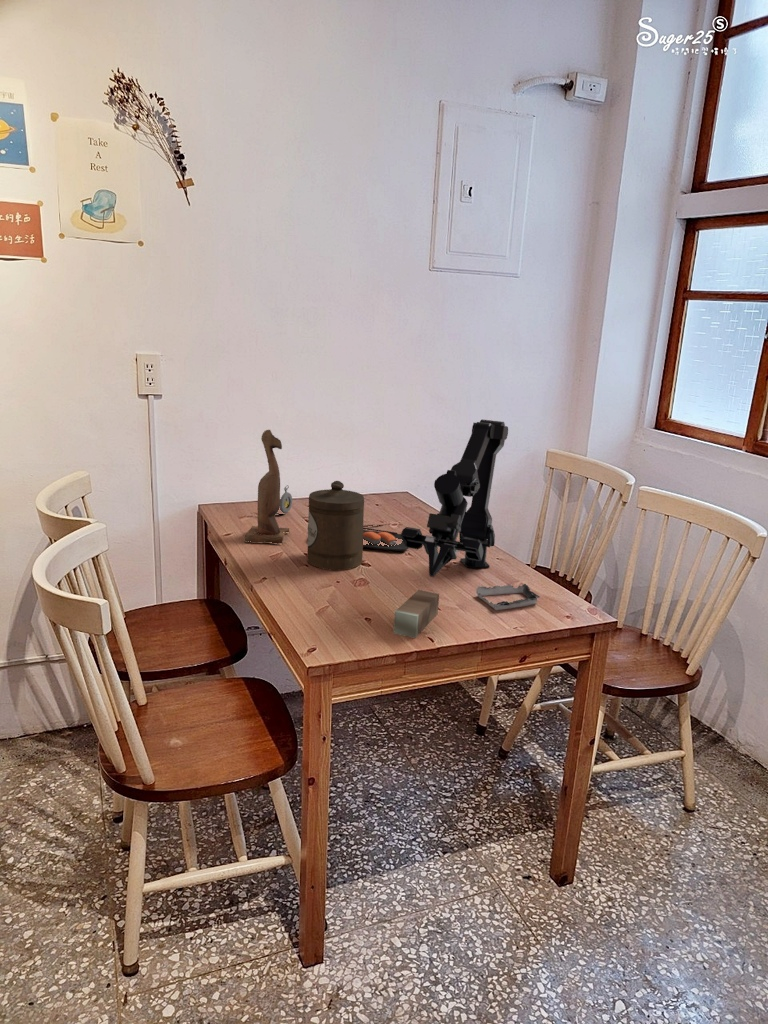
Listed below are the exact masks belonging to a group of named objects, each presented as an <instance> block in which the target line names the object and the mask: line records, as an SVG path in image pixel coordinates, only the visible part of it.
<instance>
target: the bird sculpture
mask: <svg viewBox="0 0 768 1024" xmlns="http://www.w3.org/2000/svg"><path fill="white" fill-rule="evenodd" d="M260 439H261V442H262V445H263V447H264V451H265V455H266V458H267V463H268V472H266V473H265V474H264V475H263V476H262V477H261V479H260V480H259V482H258V484H257V485H258V486H257V526H255V525H252V526H251V527H250V529H248V531H247V532H246V533H245V534H244V538H243V540H244V542H245V541H247V542H246V543H248V541H249V543H251V542H264V543H265V542H272V543H277V544H278V543H282V544H283V540H284V537H285V534H287V533H286V532H289V533H291V532H290V528H289V527H280V526H279V523H278V521H277V519H276V518H277V517H276V515H275V514H276V513H277V512H278V510H279V508H280V499H281V475H280V467H279V464H278V461H277V458H276V455H275V452H274V450H273V449H279V450H282V449H283V445H282V442H281V439H279V438H278V437H276V436H275V435H273V432H272V430H271V429H266V430H264V431H263V432H262V434H261V438H260ZM283 532H285V533H283ZM250 541H251V542H250Z"/></svg>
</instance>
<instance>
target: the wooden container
mask: <svg viewBox="0 0 768 1024" xmlns="http://www.w3.org/2000/svg"><path fill="white" fill-rule="evenodd" d="M343 488H345V486H344V483H343V482H342V481H340V480H333V482H331V483H330V489H319V490H315V491H312V492H310V493H309V495H308V517H307V518H308V519H307V521H308V523H307V555H306V557H307V559H308V560H307V559H306V560H307V562H308V563H309V564H310V563H311V564H312V565H311V564H310V565H311V566H313V565H314V567H315V566H317V567H316V568H318V567H320V569H322V568H324V569H323V570H329V569H331V571H332V570H333V571H339V570H350V568H351V569H354V568H356V567H359V566H360V565H362V563H363V553H364V552H363V549H364V547H363V530H364V529H363V528H364V527H363V526H364V513H365V511H364V510H365V496H364V495H363V494H362V493H359V492H356V491H353V490H346V489H343Z"/></svg>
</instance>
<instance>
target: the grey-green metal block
mask: <svg viewBox="0 0 768 1024" xmlns="http://www.w3.org/2000/svg"><path fill="white" fill-rule="evenodd" d="M439 601H440V593H437V592H433V591H432V592H431V591H428V590H422V589H417V591H415V592H414V593H413V594H412V595H411V596H410V597H409V598H407V599H406V601H404V603H402V604H401V605H400V606H399V607H398V608H397V609H396V610H395V611H394V620H393V621H394V622H393V634H395V635H399V636H400V635H401V636H405V637H408V638H412V639H416V638H417V637H418V636H419V635H420V634H421V633H422V632H423V631H424V630H425V629H426V628H427V626H428V625H429V624H431V623H432V621H433V620H434V619H435V618H436V617H437V616H438V615H439Z"/></svg>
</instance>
